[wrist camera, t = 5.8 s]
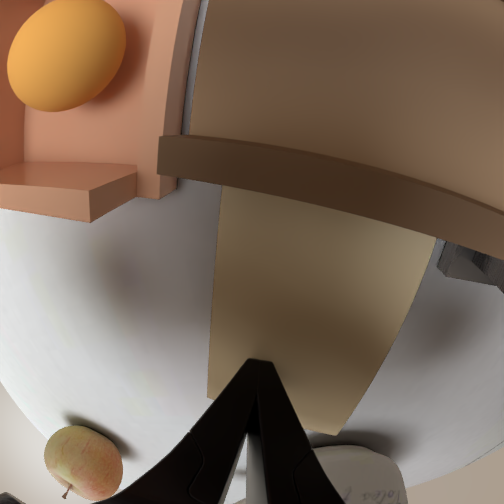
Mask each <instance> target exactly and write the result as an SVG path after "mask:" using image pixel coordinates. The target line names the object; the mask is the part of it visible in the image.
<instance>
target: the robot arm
mask: <svg viewBox="0 0 504 504" xmlns="http://www.w3.org/2000/svg"><path fill="white" fill-rule="evenodd" d="M246 435H247V473H246V504H346V503H345V502H344V500H343V499H342V497H341V496H340V494H339V493H338V492H337V490H336V489H335V487H334V486H333V484H332V483H331V481H330V480H329V478H328V476H327V475H326V473H325V471H324V470H323V468H322V466H321V464H320V462H319V460H318V458H317V456H316V454H315V452H314V450H313V449H312V446H311V444H310V442H309V440H308V437H307V435H306V433H305V431H304V429H303V427H302V425H301V423H300V420H299V418H298V416H297V414H296V412H295V410H294V408H293V405H292V403H291V401H290V399H289V397H288V395H287V392H286V390H285V388H284V386H283V384H282V381H281V379H280V377H279V375H278V373H277V370H276V368H275V366H274V364H273V362H271V361H266V360H259V359H253V358H248V359H247V360H246V361H245V362H244V363H243V365H242V366H241V367H240V369H239V370H238V371H237V373H236V374H235V375H234V376H233V378H232V379H231V380H230V382H229V383H228V384H227V385H226V387H225V388H224V389H223V390H222V392H221V393H220V394H219V395H218V397H217V398H216V399H215V400H214V402H213V403H212V404H211V405H210V407H209V408H208V409H207V410H206V411H205V413H204V414H203V415H202V416H201V418H200V419H199V420H198V421H197V422H196V424H195V425H194V426H193V427H192V428H191V430H190V432H188V433H187V434H186V435H185V436H184V438H183V439H182V440H181V441H180V442H179V443H178V444H177V445H176V446H175V447H174V448H173V450H172V451H171V452H170V453H169V454H167V455H166V456H165V457H164V458H163V459H162V460H161V461H160V462H159V463H157V464H156V465H155V466H154V467H152V468H151V469H150V470H149V471H148V472H146V473H145V474H144V475H142V476H141V477H140V478H139V479H137V480H136V481H135V482H133V483H132V484H131V485H130V486H128V487H127V488H125V489H124V490H122V491H121V492H120V493H118V494H116V495H114V496H112V497H110V498H107V499H105V500H101V501H99V502H95V503H92V504H223V503H224V501H225V498H226V495H227V492H228V489H229V486H230V484H231V481H232V478H233V475H234V472H235V469H236V466H237V463H238V460H239V457H240V454H241V451H242V448H243V445H244V441H245V438H246ZM0 504H25V503H24V502H22V501H20V500H19V499H17V498H16V497H14V496H13V495H11V494H9V493H7V492H4V493H2V494H0Z"/></svg>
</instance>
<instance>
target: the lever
mask: <svg viewBox="0 0 504 504" xmlns="http://www.w3.org/2000/svg"><path fill="white" fill-rule="evenodd" d="M157 174H158V175H165V176H171V177H178V178H184V179H190V180H196V181H202V182H207V183H213V184H218V185H222V192H221V202H220V212H219V223H218V234H217V245H216V257H215V270H214V283H213V297H212V311H211V327H210V345H209V364H208V387H207V397H208V398H210V399H213V400H215V399H216V398H217V397H218V395H219V394H220V393H221V392H222V390H223V389H224V388H225V387H226V385H227V384H228V383H229V382H230V380H231V379H232V378H233V376H234V375H235V374H236V373H237V371H238V370H239V369H240V367H241V366H242V365H243V363H244V362H245V361H246V360H247V359H248V358H253V359H259V360H266V361H271V362H273V364H274V366H275V368H276V370H277V373H278V375H279V377H280V379H281V381H282V384H283V386H284V388H285V390H286V392H287V395H288V397H289V399H290V401H291V403H292V405H293V408H294V410H295V412H296V414H297V416H298V418H299V420H300V423H301V425H302V427H303V428H304V429H308V430H312V431H316V432H320V433H325V434H329V435H334V436H337V434H338V433H339V431H340V430H341V429H342V427H343V426H344V424H345V423H346V421H347V420H348V419H349V417H350V416H351V414H352V413H353V411H354V409H355V408H356V406H357V405H358V403H359V402H360V400H361V399H362V397H363V395H364V394H365V392H366V391H367V389H368V387H369V386H370V384H371V382H372V381H373V379H374V377H375V375H376V374H377V372H378V370H379V368H380V367H381V365H382V363H383V361H384V359H385V357H386V356H387V354H388V352H389V350H390V348H391V346H392V344H393V342H394V340H395V338H396V336H397V334H398V332H399V330H400V328H401V326H402V324H403V322H404V320H405V318H406V315H407V313H408V311H409V309H410V307H411V304H412V302H413V300H414V297H415V295H416V293H417V290H418V288H419V286H420V283H421V281H422V278H423V275H424V273H425V270H426V268H427V265H428V262H429V260H430V257H431V254H432V251H433V248H434V245H435V242H436V239H437V238H439V239H442V240H445V241H448V242H452V243H455V244H458V245H461V246H464V247H467V248H470V249H473V250H476V251H478V252H481V253H484V254H487V255H490V256H493V257H496V258H498V259H501V260H504V0H209V3H208V8H207V13H206V18H205V23H204V29H203V34H202V40H201V46H200V52H199V58H198V65H197V72H196V79H195V86H194V94H193V102H192V110H191V119H190V128H189V135H170V136H159V143H158V158H157Z"/></svg>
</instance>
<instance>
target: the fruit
mask: <svg viewBox="0 0 504 504" xmlns="http://www.w3.org/2000/svg"><path fill="white" fill-rule="evenodd" d="M44 458H45V464H46V467H47V469H48V470H49V472H50V473H51V475H52V476H53V477H54V478H55V479H56V480H57V481H58V482H59V483H60V484H61V485H63V486H64V487H66V488H67V489H68V490H67V492H66V493H65V494H64V495H63V496H62V497H63V498H64V499H66V495H67V493H68V491H69V490H71V491H72V492H74V493H76V494H77V495H80V496H81V497H83V498H86V499H89V500H94V501H99V500H105V499H107V498H109V497H111V496H112V495H113V494H114V493H115V492H116V491H117V489H118V488H119V485H120V483H121V480H122V475H123V465H122V459H121V456H120V453H119V451H118V449H117V447H116V446H115V445H114V443H113V442H112V441H110V440H109V439H108V438H106V437H105V436H103V435H101V434H99V433H97V432H95V431H93V430H91V429H90V428H87V427H84V426H68V427H64V428H62V429H60V430H58V431H57V432H55V433H54V434H53V435H52V436H51V437H50V439H49V440H48V443H47V445H46V447H45V452H44Z"/></svg>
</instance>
